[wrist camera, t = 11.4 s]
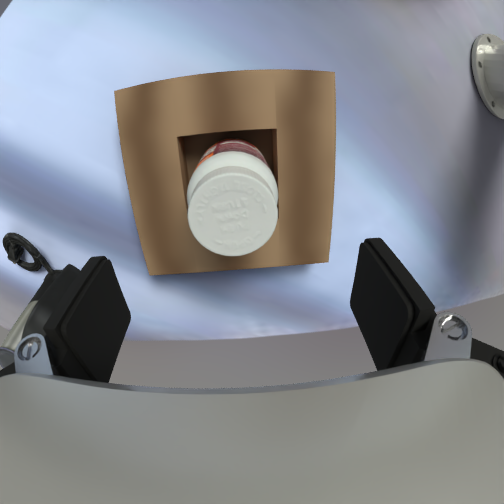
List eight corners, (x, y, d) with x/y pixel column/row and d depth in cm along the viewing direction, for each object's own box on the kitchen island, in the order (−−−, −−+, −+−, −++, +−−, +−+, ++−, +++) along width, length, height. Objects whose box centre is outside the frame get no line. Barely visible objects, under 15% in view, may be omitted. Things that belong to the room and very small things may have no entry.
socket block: (320, 75, 22) (334, 72, 18) (318, 243, 31) (328, 262, 27) (130, 91, 21) (114, 91, 18) (158, 255, 30) (149, 275, 27)
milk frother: (96, 328, 36) (64, 410, 23) (17, 292, 32) (-27, 357, 20) (102, 251, 30) (44, 342, 17) (9, 214, 26) (-60, 276, 13)
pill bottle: (205, 133, 23) (183, 155, 14) (272, 144, 24) (298, 174, 14) (196, 195, 26) (173, 256, 17) (258, 205, 27) (273, 270, 17)
